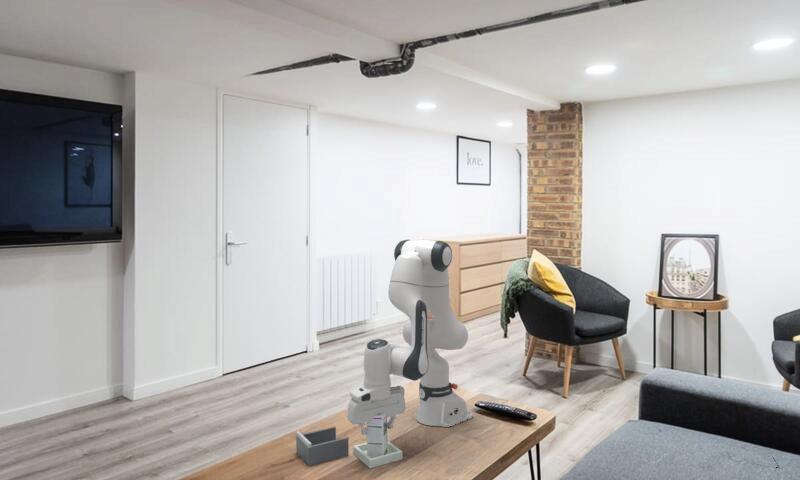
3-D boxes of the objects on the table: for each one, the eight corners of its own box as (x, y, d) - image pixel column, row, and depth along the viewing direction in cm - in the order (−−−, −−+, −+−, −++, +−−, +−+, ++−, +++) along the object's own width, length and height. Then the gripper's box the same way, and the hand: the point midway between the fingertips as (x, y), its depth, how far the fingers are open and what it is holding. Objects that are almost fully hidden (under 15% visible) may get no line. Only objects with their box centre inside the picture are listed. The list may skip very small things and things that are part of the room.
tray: (384, 445, 191) (384, 438, 191) (402, 459, 181) (402, 451, 180) (353, 453, 185) (353, 446, 185) (370, 468, 174) (370, 460, 174)
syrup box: (384, 459, 179) (383, 416, 178) (366, 458, 180) (366, 414, 179) (387, 451, 185) (387, 409, 184) (370, 450, 186) (370, 408, 185)
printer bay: (334, 443, 193) (334, 423, 192) (348, 455, 183) (348, 434, 183) (296, 452, 185) (296, 431, 185) (308, 466, 176) (308, 444, 176)
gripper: (399, 382, 189) (399, 421, 190) (345, 392, 179) (345, 434, 180) (409, 387, 184) (409, 427, 185) (354, 398, 173) (354, 441, 174)
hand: (377, 431), depth 182 cm, fingers open, 8 cm apart
